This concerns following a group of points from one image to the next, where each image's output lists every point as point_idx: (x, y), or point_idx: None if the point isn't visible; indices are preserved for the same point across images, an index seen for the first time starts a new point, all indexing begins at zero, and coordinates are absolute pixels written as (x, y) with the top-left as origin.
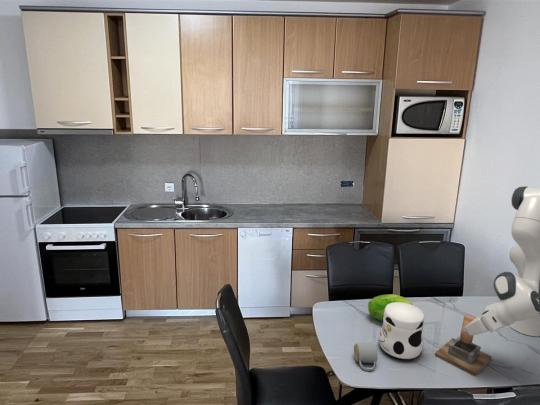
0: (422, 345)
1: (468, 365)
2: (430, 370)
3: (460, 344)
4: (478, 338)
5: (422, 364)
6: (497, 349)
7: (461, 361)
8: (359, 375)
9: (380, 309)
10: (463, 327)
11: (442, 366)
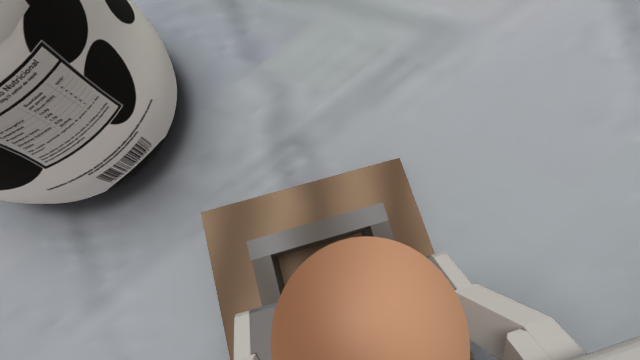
0: (87, 178)
1: None
2: (82, 293)
3: (366, 235)
4: (550, 202)
5: (89, 241)
6: (577, 315)
7: None
8: None
9: None
10: (234, 334)
11: (167, 296)
